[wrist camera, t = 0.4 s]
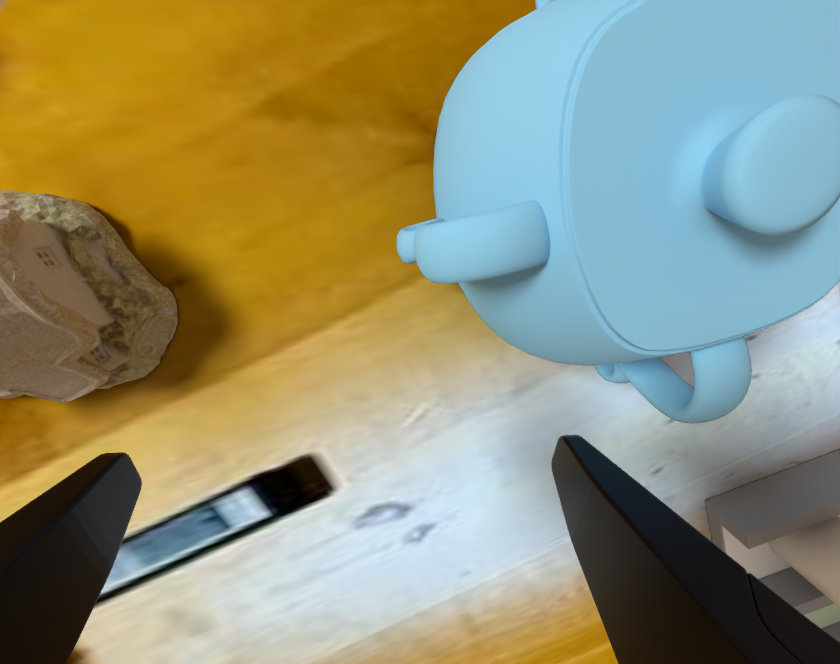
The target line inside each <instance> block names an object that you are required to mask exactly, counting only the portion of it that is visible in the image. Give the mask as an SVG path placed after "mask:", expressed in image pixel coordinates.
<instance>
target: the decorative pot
mask: <svg viewBox="0 0 840 664" xmlns="http://www.w3.org/2000/svg"><path fill="white" fill-rule="evenodd" d="M433 174H434V199H435V208H436V217H437V218H436V219H433V220H429V221H425V222H421V223H418V224H415V225H411V226H408V227H406V228H403V229H402V230H400V232H399V233H398V236H397V252H398V254H399V256H400V258H401V260H402V261H403V262H404V263H406V264H412V263H417V264H418V267H419V269H420V271H421V272H422V274H423V275H424V276H425V278H427V279H428V280H429V281H431V282H434V283H438V284H452V283H458V284H459V286H460V287H461V289H462V291H463V293H464V294H465V296H466V298H467V300H468V301H469V302H470V304H471V305H472V307H473V308H474V310H475V311H476V313H477V314H478V315H479V316H480V318H481V319H482V320H483V321H484V322H485V323H486V324H487V326H488V327H489V328H490V329H491V330H492V331H494V332H495V333H496V334H497V335H498V336H500V337H501V338H502V339H503V340H504V341H506V342H507V343H508V344H510V345H512V346H514V347H516V348H518V349H520V350H522V351H524V352H526V353H528V354H530V355H533V356H536V357H540V358H543V359H546V360H550V361H553V362H558V363H565V364H575V365H594V366H595V369H596V370H597V372H598V374H599V375H600V376H601V377H602V378H604V379H605V380H607V381H610V382H614V383H628V382H631V383H632V384H633V386H634V387H635V388H636V389H637V390H638V391H639V392H640V393H641V394H642V395H643V396H644V397H645V398H646V399H647V400H648V401H649V402H650V403H651V404H652V405H653V406H654V407H655V408H657V409H658V410H659V411H660V412H662V413H663V414H665V415H666V416H668V417H670V418H672V419H674V420H677V421H680V422H685V423H702V422H708V421H711V420H714V419H717V418H720V417H722V416H724V415H726V414H728V413H729V412H731V411H732V410H734V409H735V408H736V407H737V406H738V405H739V404H740V403H741V401H742V400H743V398H744V397H745V395H746V393H747V391H748V388H749V385H750V380H751V372H752V371H751V360H750V355H749V350H748V346H747V342H746V340H745V338H744V336H745V335H748V334H751V333H754V332H756V331H759V330H762V329H765V328H768V327H770V326H773V325H775V324H777V323H780V322H782V321H784V320H787V319H789V318H791V317H793V316H795V315H797V314H798V313H800V312H802V311H804V310H806V309H808V308H809V307H811V306H812V305H814V304H815V303H816V302H818V301H819V300H820V299H822V298H823V297H824V296H825V295H827V294H828V293H829V291H830V290H831V289H832V288H833V287H834V286H835V285H836V284H837V283H838V282H839V280H840V0H536V10H534V11H533V12H531V13H529V14H527V15H525V16H524V17H522V18H520V19H518V20H516V21H515V22H513V23H511V24H509V25H508V26H507V27H505V28H504V29H502V30H501V31H499V32H498V33H497V34H496V35H495V36H494V37H492V38H491V39H490V40H489V41H488V42H487V43H486V44H485V45H483V46H482V47H481V48H480V49H479V50H478V51H477V52H476V53H475V54H474V55H473V56H472V57H471V58H470V59H469V61H468V62H467V63H466V65H465V66H464V67H463V69H462V70H461V71H460V73H459V74H458V76H457V77H456V79H455V81H454V82H453V84H452V86H451V88H450V90H449V92H448V94H447V96H446V98H445V101H444V104H443V107H442V111H441V114H440V117H439V122H438V128H437V134H436V140H435V151H434V167H433ZM685 352H689V353H690V356H691V361H692V366H693V373H694V388H693V387H692V386H691V385H689V384H688V383H687V382H685V381H684V380H683V379H682V378H681V377H680V376H678V375H677V374H676V373H675V372H674V371H673V370H672V369H671V368H670V367H669V366H668V365H667V364H666V363H665V362H664V361H663V360H662V359H660V358H659V357H663V356H669V355H674V354H680V353H685Z"/></svg>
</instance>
